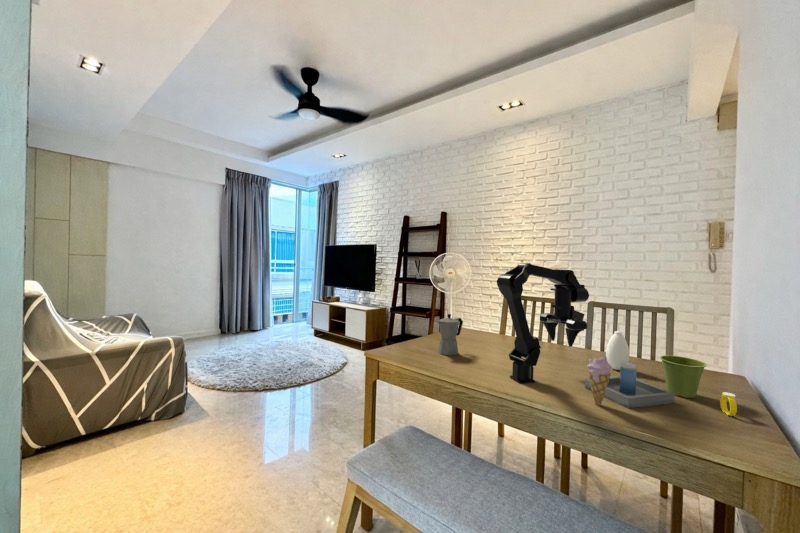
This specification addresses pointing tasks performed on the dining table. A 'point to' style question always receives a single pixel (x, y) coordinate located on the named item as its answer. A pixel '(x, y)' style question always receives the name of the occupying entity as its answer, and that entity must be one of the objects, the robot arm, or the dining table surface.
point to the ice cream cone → (599, 377)
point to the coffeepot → (449, 335)
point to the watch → (731, 400)
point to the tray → (643, 396)
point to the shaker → (628, 378)
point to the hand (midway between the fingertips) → (561, 343)
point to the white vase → (617, 350)
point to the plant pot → (682, 375)
